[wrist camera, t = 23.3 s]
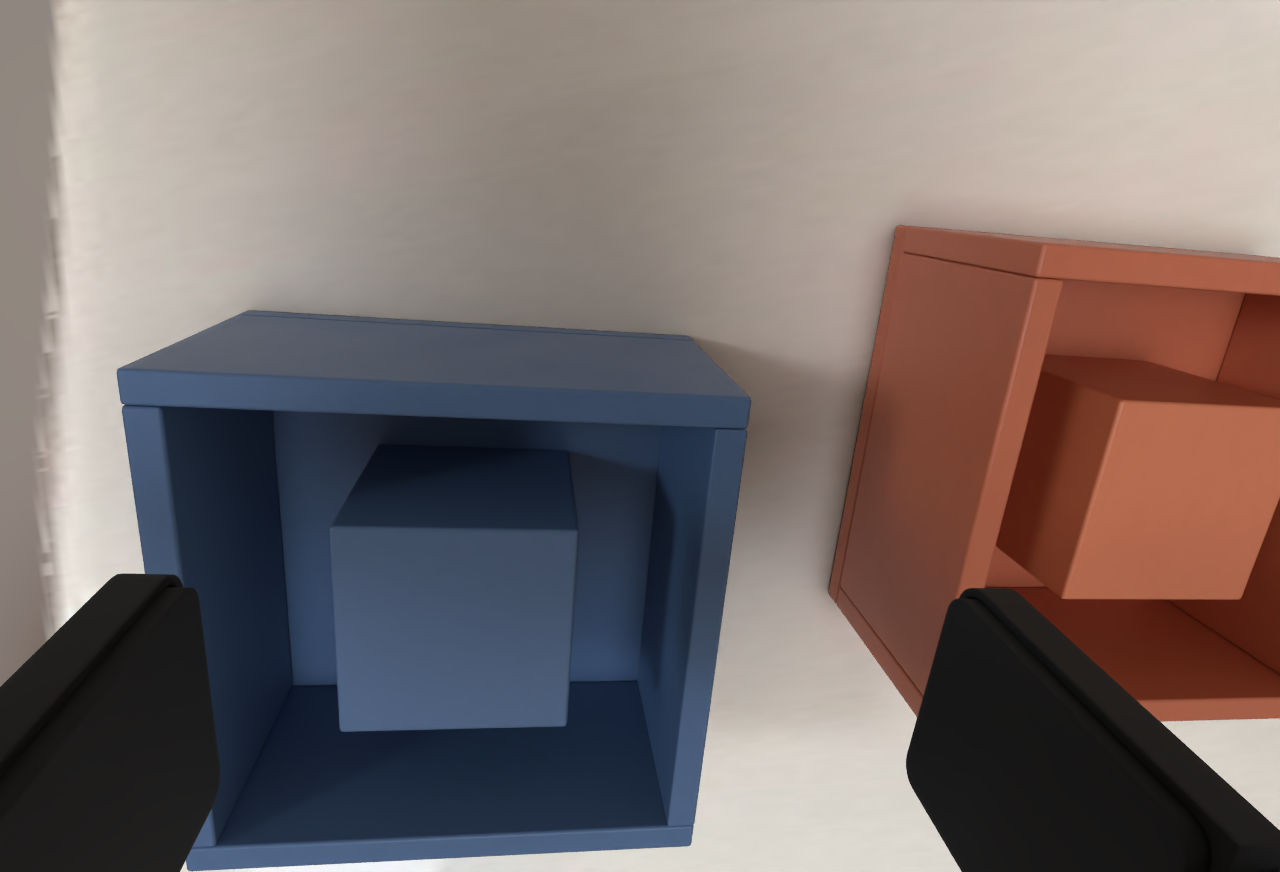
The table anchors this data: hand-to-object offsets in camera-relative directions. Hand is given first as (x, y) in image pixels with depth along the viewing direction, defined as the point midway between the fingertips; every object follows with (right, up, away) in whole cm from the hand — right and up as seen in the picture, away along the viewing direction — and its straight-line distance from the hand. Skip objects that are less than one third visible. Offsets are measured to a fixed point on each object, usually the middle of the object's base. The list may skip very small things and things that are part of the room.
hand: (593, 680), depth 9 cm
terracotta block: (+12, +3, +11) cm, 16 cm away
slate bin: (-4, +1, +10) cm, 10 cm away
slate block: (-4, +1, +9) cm, 10 cm away
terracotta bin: (+11, +3, +11) cm, 16 cm away
